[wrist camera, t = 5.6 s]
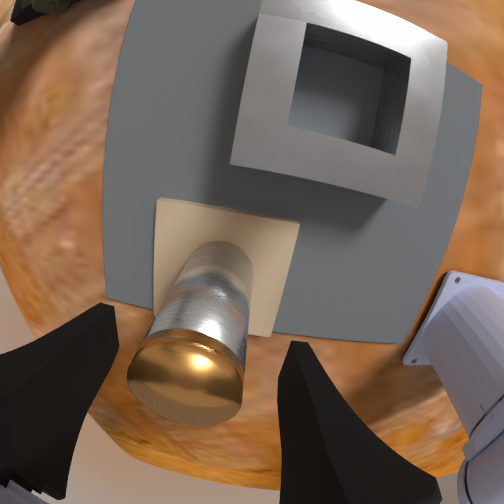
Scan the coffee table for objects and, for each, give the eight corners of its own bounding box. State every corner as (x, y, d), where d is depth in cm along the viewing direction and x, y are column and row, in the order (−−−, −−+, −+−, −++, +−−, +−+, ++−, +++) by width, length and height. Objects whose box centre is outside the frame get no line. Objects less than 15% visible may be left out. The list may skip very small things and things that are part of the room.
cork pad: (298, 220, 14) (300, 224, 14) (270, 330, 17) (270, 337, 16) (161, 197, 14) (156, 200, 13) (156, 310, 17) (153, 315, 16)
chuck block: (417, 54, 10) (447, 42, 7) (391, 192, 13) (419, 208, 10) (266, 8, 10) (266, -20, 7) (236, 157, 13) (229, 164, 10)
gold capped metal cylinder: (261, 250, 14) (256, 371, 7) (244, 306, 15) (228, 434, 8) (193, 232, 14) (125, 335, 6) (183, 290, 15) (129, 406, 8)
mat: (478, 85, 10) (482, 84, 10) (400, 340, 18) (402, 343, 17) (138, 2, 10) (135, -1, 9) (109, 294, 17) (107, 298, 16)
